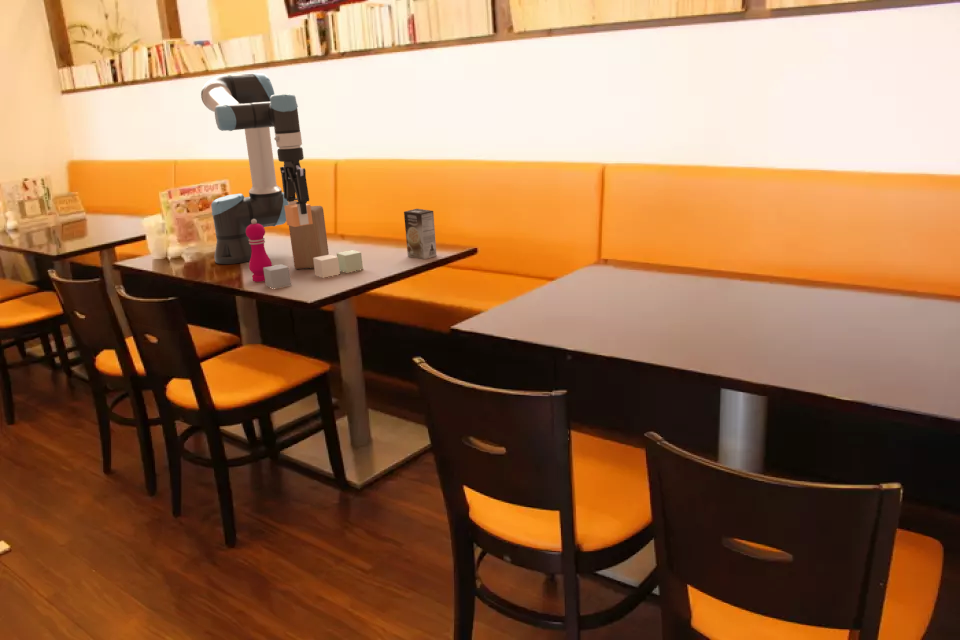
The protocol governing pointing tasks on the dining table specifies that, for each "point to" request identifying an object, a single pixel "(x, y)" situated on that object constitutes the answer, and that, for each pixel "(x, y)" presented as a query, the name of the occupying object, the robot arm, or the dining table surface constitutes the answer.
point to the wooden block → (309, 240)
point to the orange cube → (296, 215)
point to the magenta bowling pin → (257, 251)
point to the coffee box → (420, 233)
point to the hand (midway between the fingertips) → (299, 223)
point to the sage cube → (350, 261)
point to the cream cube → (326, 266)
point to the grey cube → (277, 276)
